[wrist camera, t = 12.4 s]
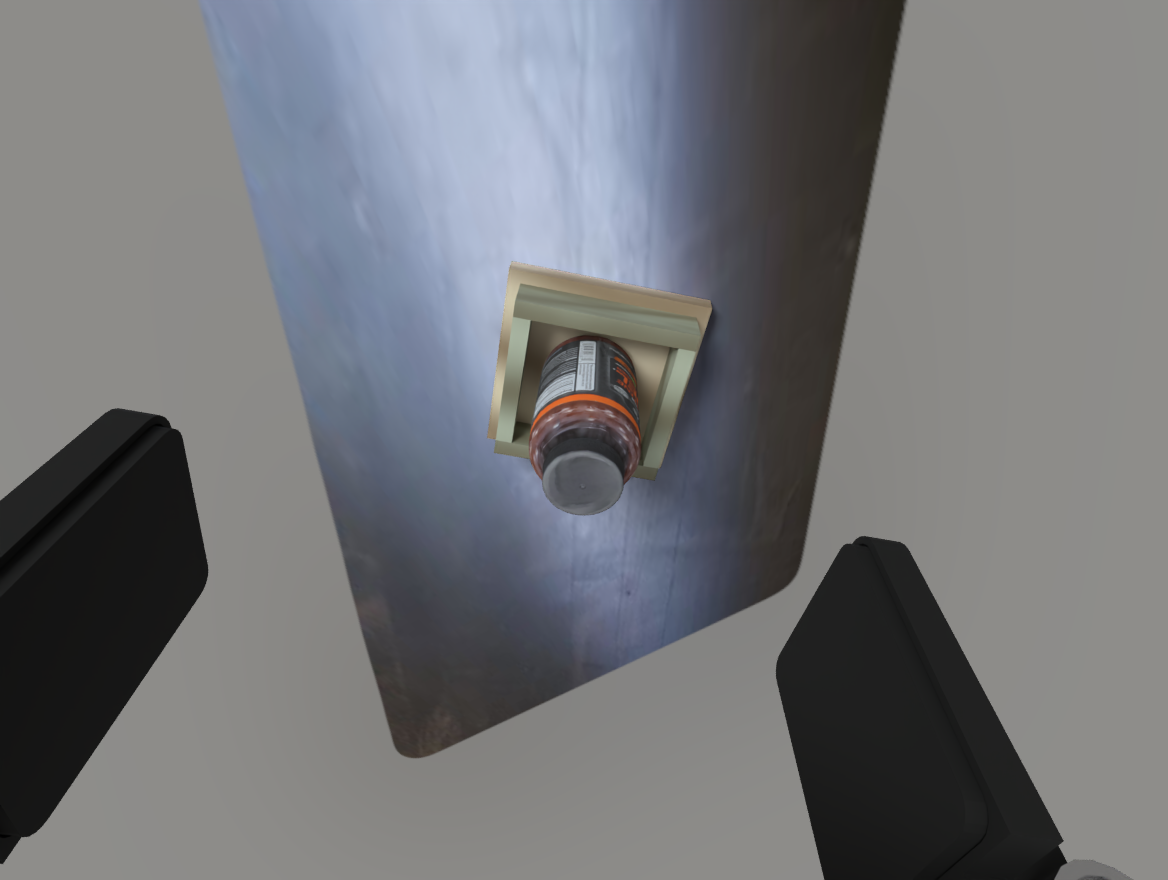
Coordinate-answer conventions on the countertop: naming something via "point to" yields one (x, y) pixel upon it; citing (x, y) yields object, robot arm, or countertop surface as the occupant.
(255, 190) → the countertop surface
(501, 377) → the socket board
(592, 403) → the supplement bottle
